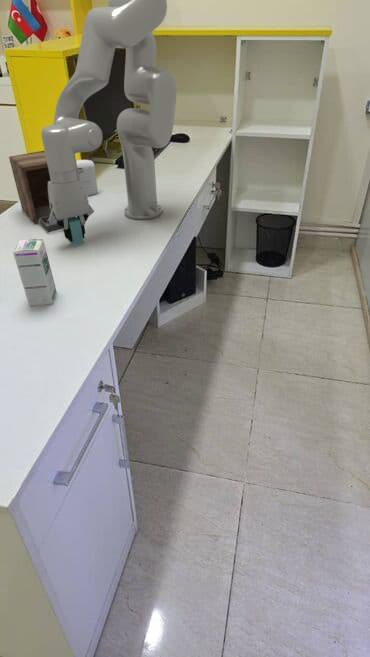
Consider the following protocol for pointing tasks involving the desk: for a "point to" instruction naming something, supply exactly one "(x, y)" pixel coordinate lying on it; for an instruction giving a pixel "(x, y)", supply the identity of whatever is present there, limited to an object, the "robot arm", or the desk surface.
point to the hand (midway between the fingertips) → (75, 237)
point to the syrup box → (35, 271)
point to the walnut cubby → (31, 181)
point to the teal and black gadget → (73, 225)
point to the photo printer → (88, 176)
